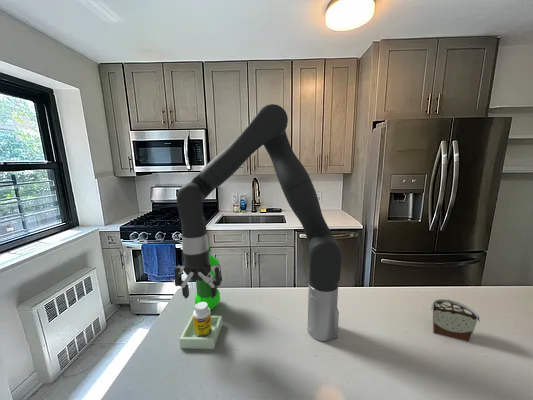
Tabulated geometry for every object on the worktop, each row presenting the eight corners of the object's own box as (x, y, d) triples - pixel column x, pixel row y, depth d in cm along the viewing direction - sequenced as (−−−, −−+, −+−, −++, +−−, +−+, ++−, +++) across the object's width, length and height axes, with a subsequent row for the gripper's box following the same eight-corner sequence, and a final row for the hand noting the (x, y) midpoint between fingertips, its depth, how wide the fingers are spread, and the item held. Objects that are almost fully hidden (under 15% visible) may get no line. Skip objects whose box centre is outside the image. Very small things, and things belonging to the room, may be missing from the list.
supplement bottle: (197, 342, 71) (195, 313, 69) (192, 331, 76) (190, 304, 74) (214, 335, 74) (212, 306, 72) (208, 324, 79) (206, 298, 77)
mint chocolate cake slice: (468, 330, 76) (472, 303, 74) (475, 344, 70) (480, 315, 69) (424, 320, 81) (427, 294, 79) (427, 332, 75) (431, 305, 74)
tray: (222, 324, 80) (221, 315, 79) (214, 349, 70) (213, 339, 69) (192, 323, 80) (191, 315, 80) (180, 348, 70) (179, 338, 69)
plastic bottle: (211, 295, 97) (207, 239, 93) (226, 305, 90) (224, 246, 86) (189, 307, 90) (184, 247, 85) (205, 319, 83) (200, 254, 78)
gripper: (221, 243, 73) (224, 290, 76) (178, 244, 73) (182, 290, 76) (215, 253, 66) (219, 304, 68) (167, 253, 66) (172, 304, 69)
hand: (200, 296), depth 72 cm, fingers open, 8 cm apart
